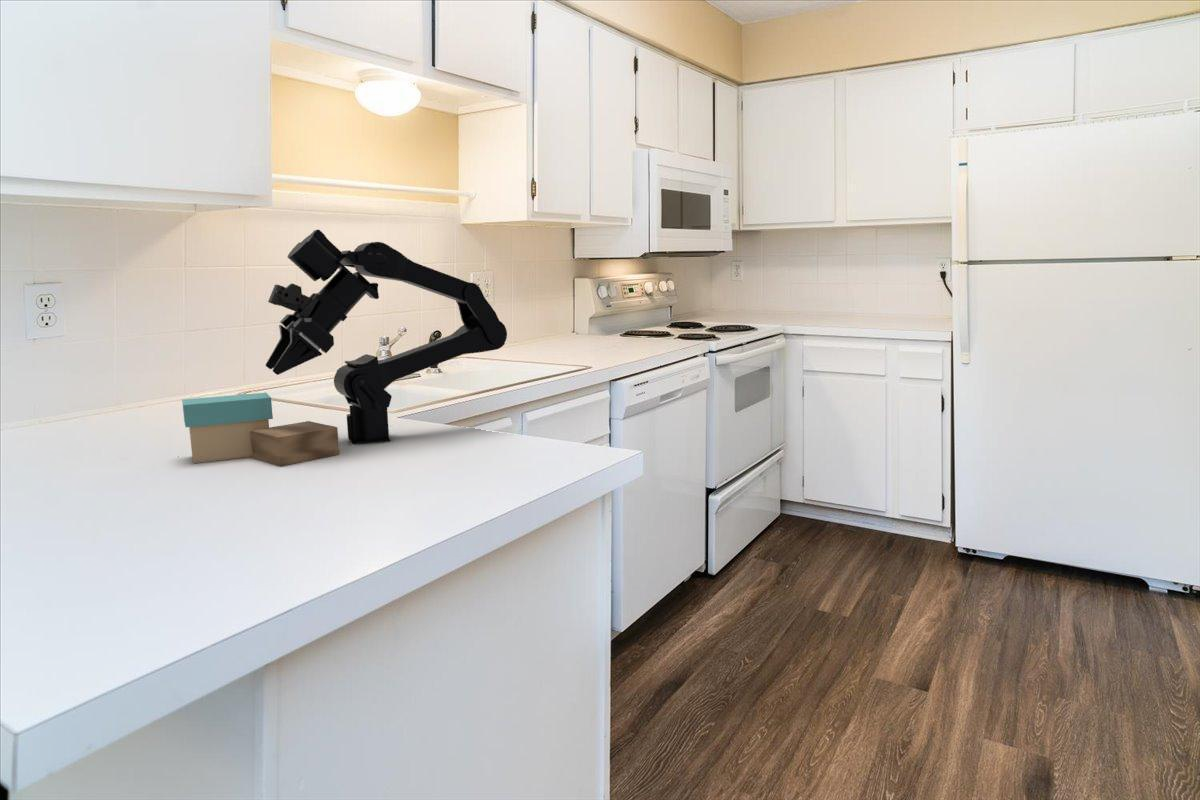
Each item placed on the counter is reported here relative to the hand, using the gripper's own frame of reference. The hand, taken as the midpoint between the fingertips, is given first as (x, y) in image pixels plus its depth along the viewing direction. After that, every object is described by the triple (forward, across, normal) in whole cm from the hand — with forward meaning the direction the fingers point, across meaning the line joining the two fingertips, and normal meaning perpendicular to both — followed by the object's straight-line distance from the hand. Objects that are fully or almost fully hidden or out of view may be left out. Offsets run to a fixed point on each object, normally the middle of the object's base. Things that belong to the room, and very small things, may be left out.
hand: (271, 370), depth 130 cm
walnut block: (+8, +7, +11) cm, 15 cm away
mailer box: (+14, 0, +5) cm, 15 cm away
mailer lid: (+10, 0, 0) cm, 10 cm away
